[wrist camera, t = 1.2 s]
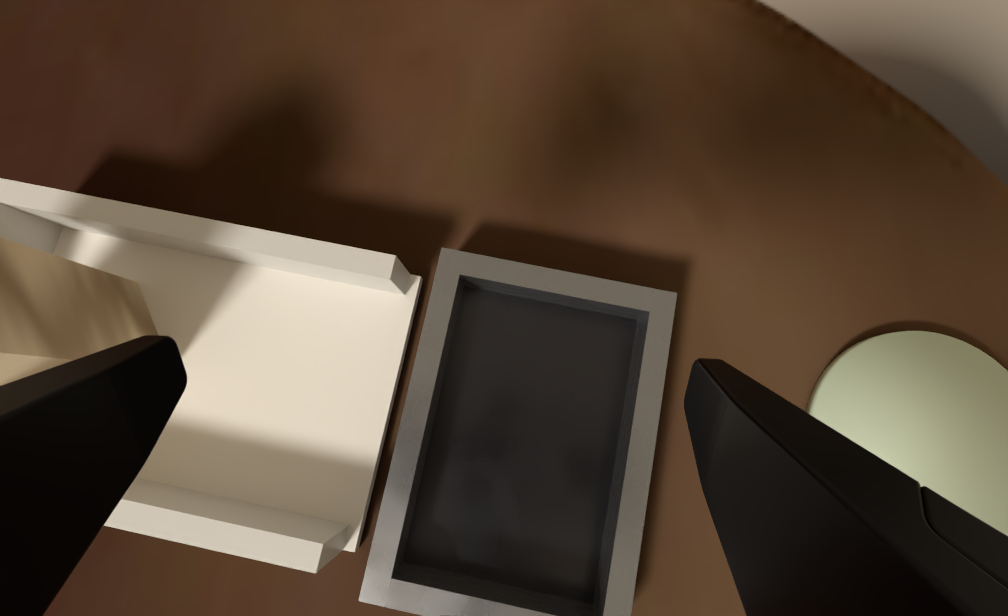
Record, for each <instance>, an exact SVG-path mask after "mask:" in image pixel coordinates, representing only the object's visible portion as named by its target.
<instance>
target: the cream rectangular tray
mask: <svg viewBox="0 0 1008 616" xmlns="http://www.w3.org/2000/svg"><path fill="white" fill-rule="evenodd" d="M0 237H1V238H4V239H7V240H10V241H13V242H16V243H19V244H22V245H25V246H28V247H31V248H34V249H37V250H40V251H43V252H46V253H49V254H53V255H56V256H59V257H62V258H65V259H68V260H71V261H74V262H77V263H80V264H83V265H86V266H89V267H92V268H95V269H98V270H101V271H104V272H107V273H110V274H114V275H117V276H120V277H123V278H126V279H129V280H132V281H135V282H138V285H139V287H140V290H141V292H142V295H143V297H144V300H145V302H146V305H147V307H148V310H149V312H150V315H151V317H152V320H153V323H154V325H155V328H156V330H157V333H158V335H162V336H170V337H172V338H173V339H174V340H175V341H176V343H177V346H178V349H179V352H180V355H181V358H182V361H183V364H184V367H185V370H186V373H187V385H186V388H185V391H184V393H183V394H182V396H181V398H180V400H179V402H178V404H177V406H176V407H175V409H174V411H173V413H172V415H171V417H170V419H169V420H168V422H167V424H166V426H165V428H164V430H163V432H162V434H161V435H160V437H159V439H158V441H157V443H156V445H155V447H154V448H153V450H152V452H151V454H150V456H149V457H148V459H147V461H146V463H145V464H144V466H143V467H142V469H141V470H140V472H139V474H138V475H137V477H136V478H135V480H134V481H133V483H132V484H131V486H130V487H129V489H128V490H127V491H126V493H125V494H124V496H123V497H122V499H121V500H120V502H119V503H118V505H117V506H116V508H115V509H114V511H113V512H112V514H111V515H110V517H109V518H108V520H107V521H106V523H105V524H104V526H109V527H113V528H118V529H122V530H126V531H131V532H135V533H140V534H144V535H148V536H153V537H157V538H162V539H166V540H171V541H175V542H179V543H184V544H188V545H193V546H197V547H201V548H206V549H210V550H215V551H219V552H223V553H228V554H232V555H237V556H241V557H246V558H250V559H254V560H259V561H263V562H268V563H272V564H276V565H281V566H285V567H290V568H294V569H298V570H303V571H307V572H312V573H317V572H318V571H319V570H320V569H322V568H323V567H324V566H325V565H326V564H327V563H328V562H329V561H331V560H332V559H333V558H334V557H335V556H336V555H337V554H339V553H340V552H341V551H342V550H346V551H351V552H355V551H356V550H357V549H359V545H360V541H361V537H362V532H363V528H364V524H365V520H366V516H367V512H368V507H369V503H370V499H371V495H372V491H373V487H374V482H375V478H376V474H377V470H378V466H379V461H380V457H381V453H382V449H383V445H384V441H385V436H386V432H387V428H388V424H389V420H390V415H391V411H392V407H393V403H394V399H395V395H396V390H397V386H398V382H399V378H400V374H401V370H402V365H403V361H404V357H405V353H406V349H407V344H408V340H409V336H410V332H411V328H412V324H413V319H414V315H415V311H416V307H417V303H418V298H419V294H420V290H421V286H422V282H423V279H422V277H421V276H416V275H411V274H410V273H409V272H408V271H407V269H406V268H405V267H404V265H403V264H402V263H401V262H400V260H399V259H398V258H397V256H396V255H391V254H386V253H381V252H376V251H370V250H365V249H360V248H355V247H350V246H345V245H340V244H335V243H329V242H324V241H319V240H314V239H309V238H304V237H299V236H294V235H289V234H283V233H278V232H273V231H268V230H263V229H258V228H253V227H248V226H242V225H237V224H232V223H227V222H222V221H217V220H212V219H207V218H202V217H196V216H191V215H186V214H181V213H176V212H171V211H166V210H161V209H155V208H150V207H145V206H140V205H135V204H130V203H125V202H120V201H115V200H109V199H104V198H99V197H94V196H89V195H84V194H79V193H74V192H68V191H63V190H58V189H53V188H48V187H43V186H38V185H33V184H28V183H22V182H17V181H12V180H7V179H2V178H0Z"/></svg>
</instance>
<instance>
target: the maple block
mask: <svg viewBox="0 0 1008 616" xmlns="http://www.w3.org/2000/svg"><path fill="white" fill-rule="evenodd" d="M145 335H158V333H157V330H156V328H155V325H154V323H153V320H152V317H151V315H150V312H149V310H148V307H147V305H146V302H145V300H144V297H143V295H142V292H141V290H140V287H139V285H138V282H135V281H132V280H129V279H126V278H123V277H120V276H117V275H114V274H110V273H107V272H104V271H101V270H98V269H95V268H92V267H89V266H86V265H83V264H80V263H77V262H74V261H71V260H68V259H65V258H62V257H59V256H56V255H53V254H49V253H46V252H43V251H40V250H37V249H34V248H31V247H28V246H25V245H22V244H19V243H16V242H13V241H10V240H7V239H4V238H1V237H0V386H1V385H4V384H7V383H10V382H13V381H16V380H18V379H21V378H24V377H27V376H30V375H33V374H36V373H38V372H41V371H44V370H47V369H50V368H53V367H56V366H58V365H61V364H64V363H67V362H70V361H73V360H76V359H78V358H81V357H84V356H87V355H90V354H93V353H95V352H98V351H101V350H104V349H107V348H110V347H113V346H115V345H118V344H121V343H124V342H127V341H130V340H133V339H135V338H138V337H141V336H145Z"/></svg>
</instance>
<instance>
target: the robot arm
mask: <svg viewBox="0 0 1008 616" xmlns="http://www.w3.org/2000/svg"><path fill="white" fill-rule="evenodd" d="M186 385H187V373H186V370H185V367H184V364H183V361H182V358H181V355H180V352H179V349H178V346H177V343H176V341H175V340H174V339H173V338H172V337H170V336H162V335H145V336H141V337H138V338H135V339H133V340H130V341H127V342H124V343H121V344H118V345H115V346H113V347H110V348H107V349H104V350H101V351H98V352H95V353H93V354H90V355H87V356H84V357H81V358H78V359H76V360H73V361H70V362H67V363H64V364H61V365H58V366H56V367H53V368H50V369H47V370H44V371H41V372H38V373H36V374H33V375H30V376H27V377H24V378H21V379H18V380H16V381H13V382H10V383H7V384H4V385H1V386H0V616H43V615H44V613H45V612H46V610H47V609H48V607H49V606H50V604H51V603H52V601H53V600H54V598H55V597H56V595H57V594H58V592H59V591H60V589H61V588H62V586H63V585H64V583H65V582H66V580H67V579H68V577H69V576H70V575H71V573H72V572H73V570H74V569H75V567H76V566H77V564H78V563H79V561H80V560H81V558H82V557H83V555H84V554H85V552H86V551H87V549H88V548H89V546H90V545H91V543H92V542H93V540H94V539H95V537H96V536H97V534H98V533H99V532H100V530H101V529H102V527H103V526H104V524H105V523H106V521H107V520H108V518H109V517H110V515H111V514H112V512H113V511H114V509H115V508H116V506H117V505H118V503H119V502H120V500H121V499H122V497H123V496H124V494H125V493H126V491H127V490H128V489H129V487H130V486H131V484H132V483H133V481H134V480H135V478H136V477H137V475H138V474H139V472H140V470H141V469H142V467H143V466H144V464H145V463H146V461H147V459H148V457H149V456H150V454H151V452H152V450H153V448H154V447H155V445H156V443H157V441H158V439H159V437H160V435H161V434H162V432H163V430H164V428H165V426H166V424H167V422H168V420H169V419H170V417H171V415H172V413H173V411H174V409H175V407H176V406H177V404H178V402H179V400H180V398H181V396H182V394H183V393H184V391H185V388H186ZM684 409H685V414H686V419H687V423H688V428H689V432H690V437H691V441H692V446H693V450H694V455H695V459H696V464H697V468H698V473H699V477H700V481H701V485H702V489H703V492H704V495H705V498H706V502H707V505H708V507H709V510H710V513H711V516H712V519H713V522H714V525H715V527H716V530H717V533H718V536H719V539H720V542H721V545H722V547H723V550H724V553H725V556H726V559H727V562H728V565H729V567H730V570H731V573H732V576H733V579H734V582H735V585H736V587H737V590H738V593H739V596H740V599H741V602H742V605H743V607H744V610H745V613H746V616H1008V536H1007V535H1005V534H1004V533H1002V532H1000V531H998V530H997V529H995V528H993V527H992V526H990V525H988V524H987V523H985V522H983V521H982V520H980V519H978V518H977V517H975V516H973V515H972V514H970V513H968V512H967V511H965V510H963V509H962V508H960V507H958V506H957V505H955V504H954V503H952V502H950V501H949V500H947V499H946V498H944V497H942V496H941V495H939V494H938V493H936V492H934V491H933V490H931V489H930V488H928V487H926V486H922V487H921V486H920V483H919V482H918V481H916V480H915V479H913V478H912V477H910V476H908V475H907V474H905V473H903V472H902V471H900V470H899V469H897V468H895V467H894V466H892V465H891V464H889V463H887V462H886V461H884V460H883V459H881V458H879V457H878V456H876V455H874V454H873V453H871V452H870V451H868V450H866V449H865V448H863V447H862V446H860V445H858V444H857V443H855V442H853V441H852V440H850V439H849V438H847V437H845V436H844V435H842V434H841V433H839V432H837V431H836V430H834V429H833V428H831V427H829V426H828V425H826V424H824V423H823V422H821V421H820V420H818V419H816V418H815V417H813V416H812V415H810V414H808V413H807V412H805V411H803V410H802V409H800V408H799V407H797V406H795V405H794V404H792V403H791V402H789V401H787V400H786V399H784V398H782V397H781V396H779V395H778V394H776V393H774V392H773V391H771V390H770V389H768V388H766V387H765V386H763V385H762V384H760V383H758V382H757V381H755V380H753V379H752V378H750V377H749V376H747V375H745V374H744V373H742V372H741V371H739V370H737V369H736V368H734V367H733V366H731V365H729V364H728V363H726V362H724V361H723V360H720V359H706V358H699V359H697V360H696V361H695V362H694V364H693V366H692V369H691V373H690V377H689V381H688V385H687V389H686V394H685V398H684Z"/></svg>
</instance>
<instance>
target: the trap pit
mask: <svg viewBox="0 0 1008 616" xmlns="http://www.w3.org/2000/svg"><path fill="white" fill-rule="evenodd" d="M676 299H677V293H675V292H670V291H664V290H659V289H654V288H649V287H644V286H639V285H633V284H628V283H623V282H618V281H613V280H608V279H603V278H597V277H592V276H587V275H582V274H577V273H572V272H566V271H561V270H556V269H551V268H546V267H541V266H535V265H530V264H525V263H520V262H515V261H510V260H504V259H499V258H494V257H489V256H484V255H479V254H474V253H468V252H463V251H458V250H453V249H448V248H443V247H442V248H441V252H440V256H439V261H438V265H437V269H436V273H435V278H434V282H433V286H432V290H431V295H430V299H429V303H428V307H427V312H426V316H425V320H424V324H423V329H422V333H421V337H420V341H419V346H418V350H417V354H416V358H415V363H414V367H413V371H412V375H411V380H410V384H409V388H408V392H407V397H406V401H405V405H404V409H403V414H402V418H401V422H400V426H399V431H398V435H397V439H396V444H395V448H394V452H393V456H392V461H391V465H390V469H389V473H388V478H387V482H386V486H385V490H384V495H383V499H382V503H381V507H380V512H379V516H378V520H377V524H376V529H375V533H374V537H373V541H372V546H371V550H370V554H369V558H368V563H367V567H366V571H365V575H364V580H363V584H362V588H361V592H360V597H359V601H361V602H365V603H370V604H374V605H378V606H383V607H387V608H392V609H396V610H400V611H405V612H409V613H414V614H418V615H422V616H631V611H632V604H633V597H634V590H635V583H636V576H637V569H638V562H639V555H640V548H641V541H642V535H643V528H644V521H645V514H646V507H647V500H648V493H649V486H650V479H651V472H652V465H653V458H654V451H655V444H656V437H657V430H658V424H659V417H660V410H661V403H662V396H663V389H664V382H665V375H666V368H667V361H668V354H669V347H670V340H671V333H672V326H673V319H674V313H675V306H676Z"/></svg>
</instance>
